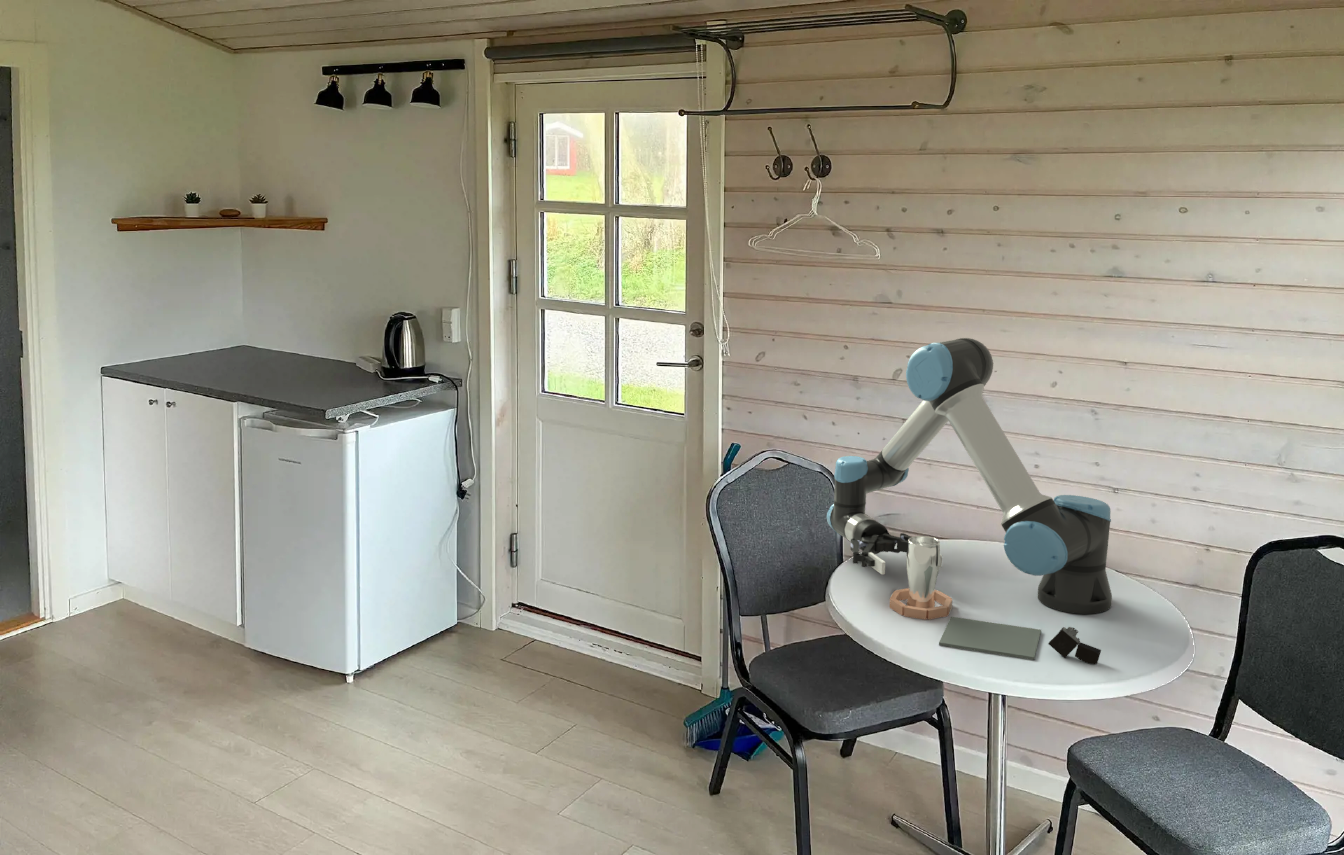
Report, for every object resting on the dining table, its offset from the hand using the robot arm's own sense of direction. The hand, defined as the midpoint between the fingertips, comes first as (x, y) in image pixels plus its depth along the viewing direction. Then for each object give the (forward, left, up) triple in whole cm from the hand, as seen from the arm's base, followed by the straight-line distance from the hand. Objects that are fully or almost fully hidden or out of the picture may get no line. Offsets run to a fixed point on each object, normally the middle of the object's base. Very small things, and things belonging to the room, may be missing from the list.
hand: (912, 565), depth 246 cm
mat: (-19, +14, -8) cm, 25 cm away
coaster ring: (-3, +3, -8) cm, 9 cm away
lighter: (-35, +17, -9) cm, 39 cm away
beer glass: (-3, +3, -9) cm, 9 cm away
